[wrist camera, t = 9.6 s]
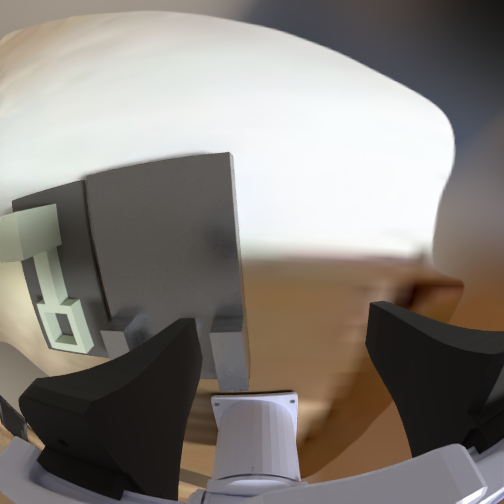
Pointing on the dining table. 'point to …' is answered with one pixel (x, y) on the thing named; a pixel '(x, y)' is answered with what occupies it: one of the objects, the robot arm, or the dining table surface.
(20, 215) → the sage hook
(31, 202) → the black mat
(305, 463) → the dining table surface
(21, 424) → the phone
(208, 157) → the vise
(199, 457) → the dining table surface
